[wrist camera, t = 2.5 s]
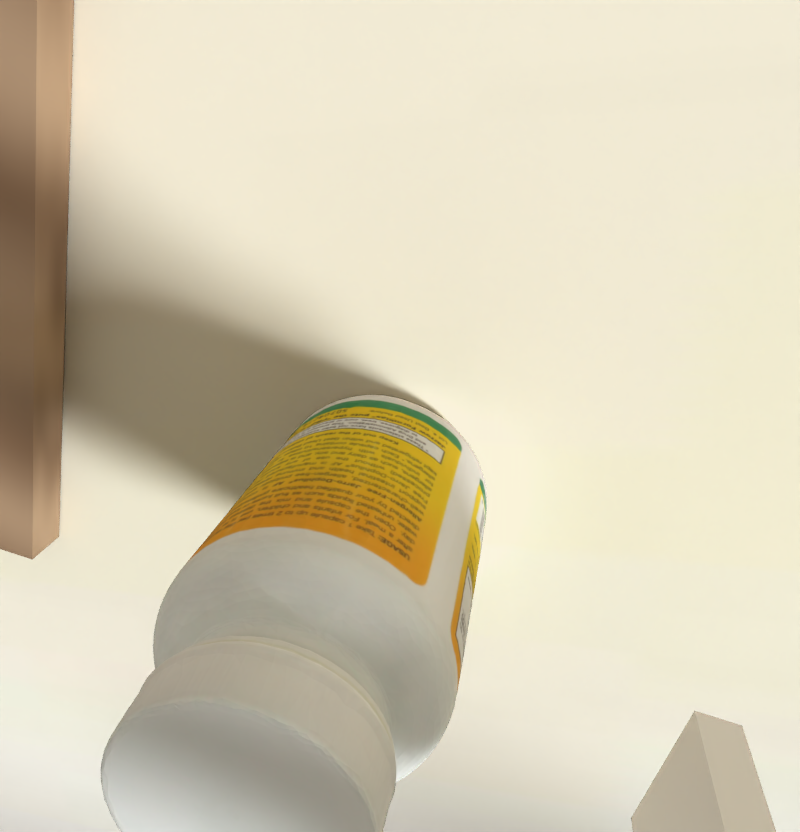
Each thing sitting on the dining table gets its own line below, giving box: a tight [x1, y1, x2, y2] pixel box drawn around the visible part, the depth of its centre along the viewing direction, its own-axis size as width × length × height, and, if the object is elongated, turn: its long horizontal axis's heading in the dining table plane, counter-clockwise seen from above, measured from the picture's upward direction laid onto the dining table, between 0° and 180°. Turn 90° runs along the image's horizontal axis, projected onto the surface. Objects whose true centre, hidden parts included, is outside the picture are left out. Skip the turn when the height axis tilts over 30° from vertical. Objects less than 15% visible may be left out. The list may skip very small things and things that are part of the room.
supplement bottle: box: [101, 395, 487, 832], centre depth 14 cm, size 5×5×10 cm
